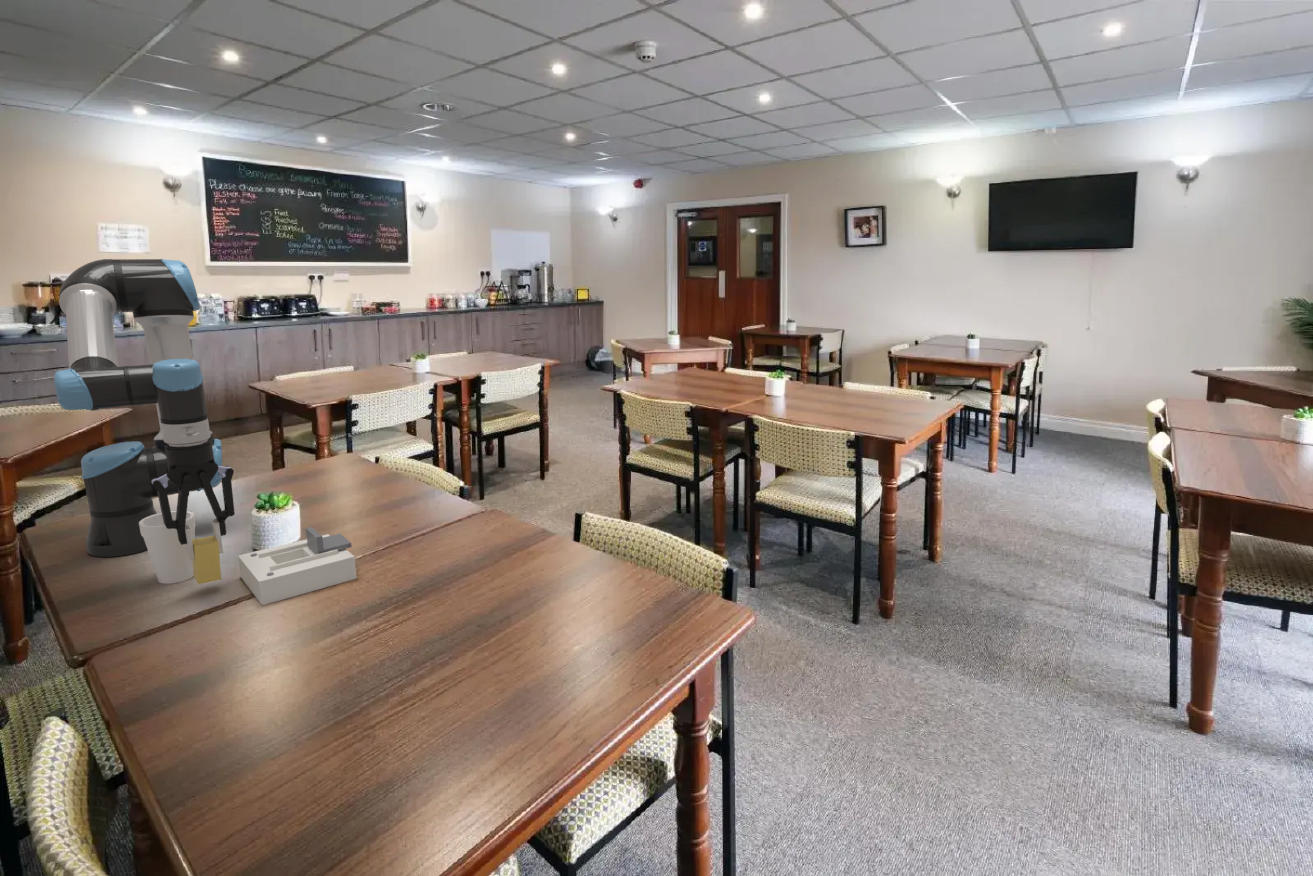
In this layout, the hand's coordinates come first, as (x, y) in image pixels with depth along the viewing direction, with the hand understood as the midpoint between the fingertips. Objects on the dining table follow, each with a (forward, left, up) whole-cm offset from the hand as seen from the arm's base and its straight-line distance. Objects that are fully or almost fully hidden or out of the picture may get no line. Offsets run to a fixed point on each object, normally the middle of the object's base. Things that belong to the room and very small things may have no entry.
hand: (205, 554), depth 140 cm
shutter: (+6, +22, -3) cm, 23 cm away
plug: (0, 0, -5) cm, 5 cm away
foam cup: (-11, -4, -8) cm, 14 cm away
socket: (+6, +14, -8) cm, 17 cm away
